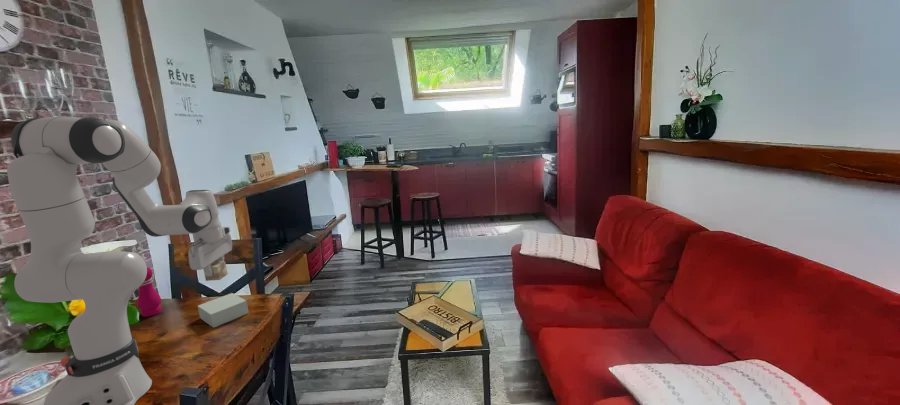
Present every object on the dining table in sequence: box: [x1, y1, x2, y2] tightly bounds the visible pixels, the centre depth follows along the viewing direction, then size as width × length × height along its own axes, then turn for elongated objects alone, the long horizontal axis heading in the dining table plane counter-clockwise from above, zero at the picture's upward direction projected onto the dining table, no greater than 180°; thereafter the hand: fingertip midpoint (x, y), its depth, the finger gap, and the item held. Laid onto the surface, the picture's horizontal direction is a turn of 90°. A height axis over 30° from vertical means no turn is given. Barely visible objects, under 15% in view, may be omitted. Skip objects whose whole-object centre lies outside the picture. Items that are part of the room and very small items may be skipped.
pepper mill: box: [136, 266, 163, 318], centre depth 145 cm, size 7×7×20 cm
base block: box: [197, 292, 250, 329], centre depth 141 cm, size 12×12×5 cm
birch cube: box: [202, 260, 229, 282], centre depth 138 cm, size 5×5×5 cm
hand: (215, 271), depth 138 cm, fingers closed on birch cube, 5 cm apart
